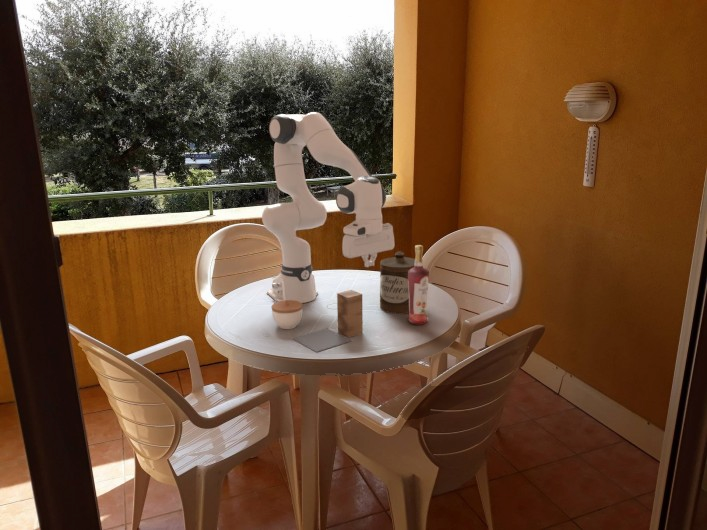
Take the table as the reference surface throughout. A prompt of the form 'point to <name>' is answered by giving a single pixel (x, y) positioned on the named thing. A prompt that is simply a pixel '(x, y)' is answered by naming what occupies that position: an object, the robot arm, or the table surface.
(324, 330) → the slate mat
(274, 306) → the lidded jar
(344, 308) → the walnut block
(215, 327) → the table surface
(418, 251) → the liquor
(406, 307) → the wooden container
